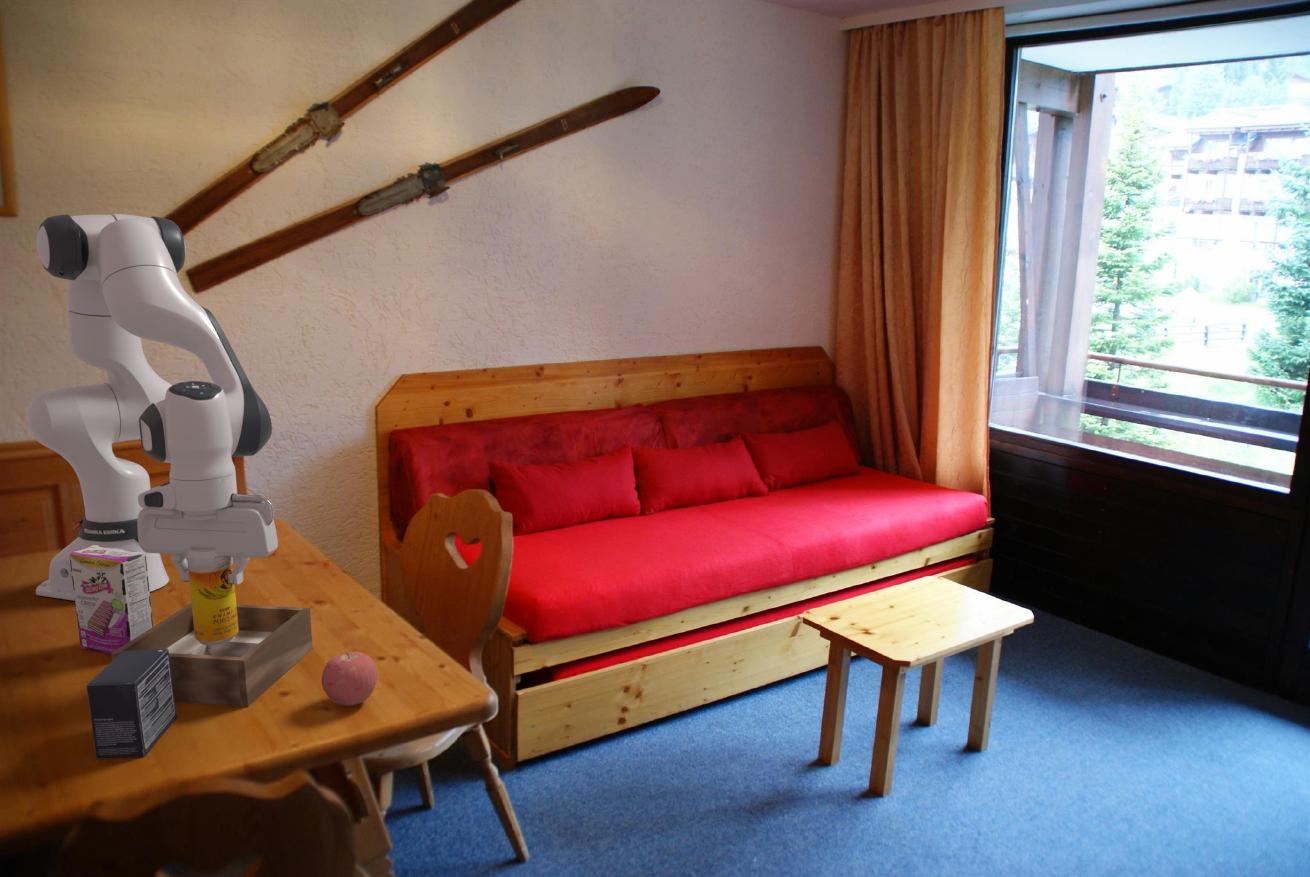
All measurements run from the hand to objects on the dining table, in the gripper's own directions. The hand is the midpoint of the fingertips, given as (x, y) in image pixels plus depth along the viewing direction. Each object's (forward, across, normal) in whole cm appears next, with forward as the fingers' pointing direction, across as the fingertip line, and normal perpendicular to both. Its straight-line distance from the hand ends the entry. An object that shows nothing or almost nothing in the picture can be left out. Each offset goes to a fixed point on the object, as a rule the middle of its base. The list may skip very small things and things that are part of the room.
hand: (212, 582), depth 144 cm
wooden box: (+14, 0, 0) cm, 15 cm away
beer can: (+9, 0, 0) cm, 9 cm away
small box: (+15, 0, +20) cm, 25 cm away
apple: (+15, -24, +7) cm, 29 cm away
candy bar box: (+15, +21, -6) cm, 26 cm away
